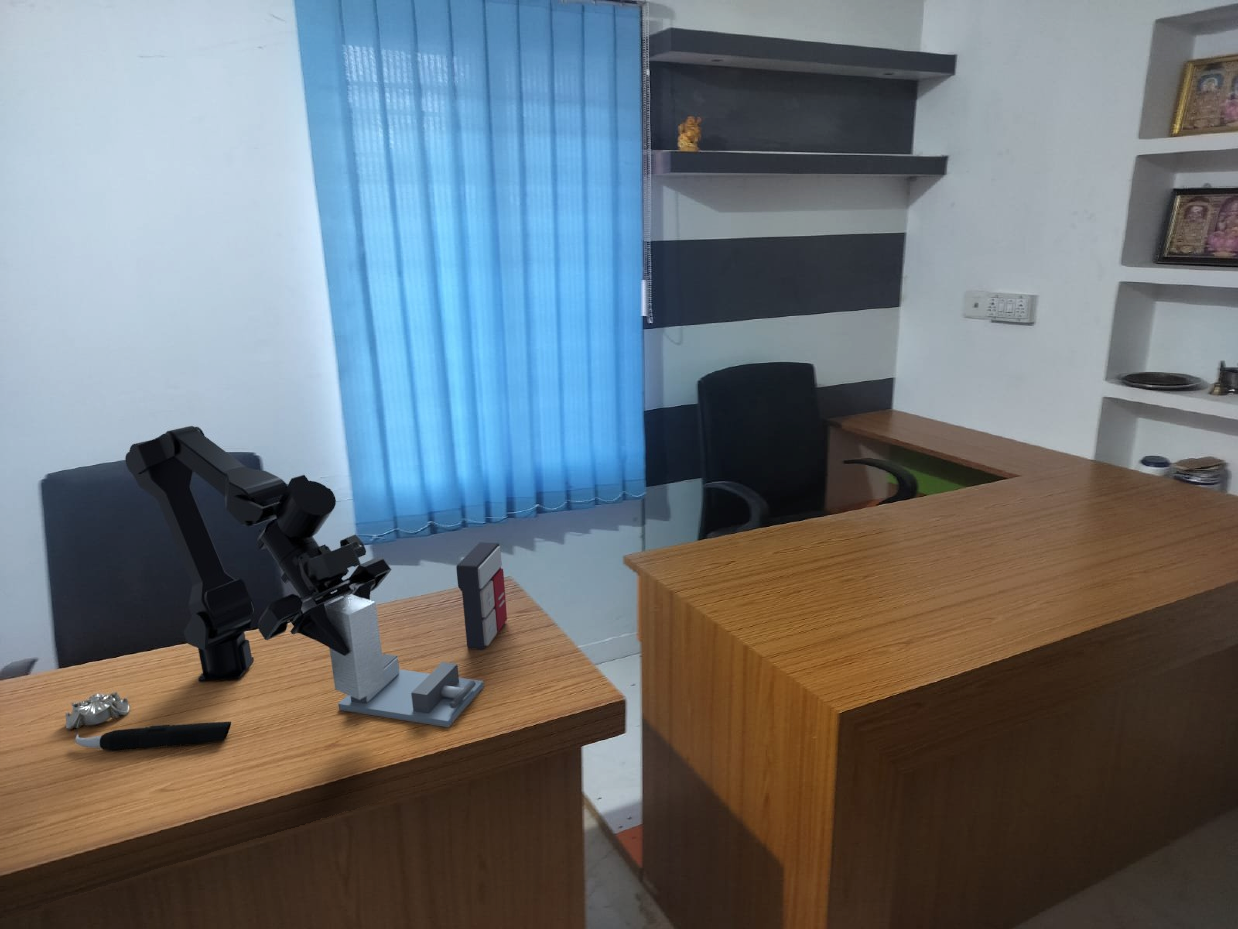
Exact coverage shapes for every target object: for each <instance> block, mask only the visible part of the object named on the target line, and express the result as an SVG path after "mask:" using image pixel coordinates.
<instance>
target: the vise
mask: <svg viewBox="0 0 1238 929" xmlns="http://www.w3.org/2000/svg"><path fill="white" fill-rule="evenodd" d="M382 659H383V668H384V676H385V685H384V686H382V687H380V688H379V689H377V690H375V691H374V692H372V693H370V694H369V695H367V696H365V697H364V698H362V699H360V700H359V699H357V698H354V697H352V696H349V695H346V696H345V697H344V698H343V699H342V700H340V701H339V702H338V703H337V704H338V705H337V706H338V710H339V711H344V712H351V713H357V714H364V715H370V716H376V717H381V718H389V719H395V720H401V721H407V722H413V723H418V724H419V723H420V724H426V725H433V726H439V727H445V728H449V727H451V725H452V724H453V723H454V721H455V720H457V718H458V717H459V716H460V714H462V713H463V711H464V710H465V709H466V708H467V707H468V706H469V705H470V703H471V702H472V701H473V700H474V699H475V698H476V696H477V695H478V694H479V693H480V692H481V690H483V688H484V687H485V686H484V680H477V679H472V678H465V677H460V676H459V669H458V668H459V667H458V663H453V662H446V661H442V662H441V663H440V664H439V665H438V666H436V668H435V669H434V670H433V671H431V673H427V672H421V671H413V670H407V669H401V668H400V666H399V657H398V655H395V654H386V653H382Z"/></svg>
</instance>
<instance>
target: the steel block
mask: <svg viewBox="0 0 1238 929" xmlns="http://www.w3.org/2000/svg"><path fill="white" fill-rule="evenodd" d="M325 610H326V614H327V617H328V619H329V620H330V622H331V623H332V625H333V626H334V628H335V629H336V630H337V632H338V633H339V635H340V636H341V637H342V639H343V640H344V642H345V644H346V646H347V647H348V649H349V653H348V655H346V656H343V655H342V654H340V653H338V652H336V651H334V650H333V649H331V648H329V653H330V662H331V669H332V675H333V683H334V684H333V685H334V690H335V691H337V692H340V693H342V694H344V695H346V696H348V695H349V696H352V697H354V698H357V699H359V700H360V699H362V698H364V697H365V696H367V695H369V694H370V693H372V692H374V691H375V690H377V689H379V688H380V687H382V686H384V685H385V676H384V668H383V659H382V654H383V652H382V643H381V635H380V628H379V626H380V625H379V620H378V619H379V618H378V609H377V602H376V601H374V600H371V599H370V600H368V599H365V598H361V597H358V596H355V595H352V594H350V595H348V596H346V597H342V598H340V599H337V600H335V601H333V602H331V603H328V604H326V605H325Z"/></svg>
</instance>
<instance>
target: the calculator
mask: <svg viewBox="0 0 1238 929" xmlns="http://www.w3.org/2000/svg"><path fill="white" fill-rule="evenodd" d="M502 563H503V562H502V551H501V545H500V543H499V542H484V541H483V542H482V541H481V542H479V543H477V544H476V545H475V546H474V547H473V548H472V550H470V551H469V552H468V553H467V554H466V556H464V558H463V559H461V561H459V563H458V564H457V565H456V566H455V567H456V568H455V569H456V578H457V587H458V588H459V590H460V591H461V593H462V594H461V595H462V606H463V607H462V608H463V618H464V627H465V628H464V629H465V637H466V639H465V640H466V647H467V649H471V650H473V649H474V650H485V649H486V647H489V645H490V644H491V642H492V641H493V640H494V639H495V637H496V636H497V633H498V632H499V631H500V630H501V629H502V628H503V626H504V624H505V623H506V622H507V619H508V614H507V600H506V590H505V575H504V574H505V573H504V568H502V565H503V564H502Z"/></svg>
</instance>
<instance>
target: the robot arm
mask: <svg viewBox="0 0 1238 929" xmlns="http://www.w3.org/2000/svg"><path fill="white" fill-rule="evenodd" d="M124 459H125V464H126V467H127V469H128V471H129V472H130V473H131V475H133V478H134V479H135V481H136V483H137V485H138V487H139V488H141V489H142V490H143V491H145V492H146V493H147V494H149V495H151V496H152V497H153V498H155V499H156V501H157V503H158V506H159V507H160V509H161V511H162V512H161V513H162V514H163V517H164V519H165V521H166V524H167V526H168V529H169V531H170V533H171V536H172V538H173V541H174V543H175V545H176V548H177V550H178V552H179V555H180V557H181V561H182V562H183V565H184V567H185V570H186V572H187V574H188V577H189V579H190V581H191V584H192V585H191V586H192V587H191V591H190V597H189V601H188V608H189V611H190V615H191V617H190V619H189V621H188V623H187V624H186V627H184V629H183V634H184V638H185V640H186V642H187V645H189V646H192V647H194V648H197V650H198V656H199V661H200V664H201V670H202V673H201V674H200V675H199V676H198V678H197V679H198V682H217V681H220V682H221V681H233V680H234V681H235V680H239V679H242V677H243V675H244V674H245V673H246V672H247V670H248V669H249V667H250V666H251V665H252V663H253V662H254V660H255V657H253V656H252V651H251V645H250V641H249V639H246V634H245V632H246V631H251V630H252V629H253V628H254V617H255V604H254V601H253V599H252V597H251V596H250V595H249V592H248V590H247V587H246V583H245V581H244V580H243V579H242V578H237V579H235V578H234V577H233V576H231V575H229V574H228V573H227V572H226V570H225V568H224V567H223V564H222V561H221V559H220V557H219V555H218V552H217V549H216V547H215V544H214V542H213V540H212V537H211V534H210V533H209V530H208V527H207V525H206V523H205V520H204V518H203V517H204V516H203V515H202V513H201V510H200V508H199V506H198V503H197V501H196V499H195V498H196V497H195V496H194V493H193V491H192V489H191V486H192V485H191V484H192V480H193V475H194V473H195V474H196V475H197V476H199V477H200V478H201V479H202V480H204V481H205V482H207V483H208V484H209V485H210V486H211V487H213V488H214V489H215V490H217V491H218V492H219V493H220V494H221V496H223V497H224V503H225V509H226V511H228V512H229V514H230V515H232V517H233V518H234V519H235V520H236V521H237V522H238V523H239V524H241V525H242V526H244V527H247V528H248V527H249V528H250V527H252V526H256V525H258V524H261V523H265V522H267V521H269V522H268V523H267V525H266V526H265V527H264V528H261V529H259V530H258V538H257V542H256V547H257V549H258V550H263V549H267V550H268V551H269V553H270V555H272V556H271V557H273V559H274V560H275V562H276V564H278V566H279V567H280V569H281V570H282V572H283V574H282V575H281V577H280V579H281V581H282V582H283V583H284V584H287V583H289V582H290V583H291V585H292V587H293V589H295V591H296V592H297V594H294V593H291V594H288V595H286V596H284V597H281V598H279V599H277V600H275V601H273V602H270V603H268V606H267V607H266V609H264V611H263V613H262V615H261V616H260V617H259V619H258V621H257V629H258V631H259V633H260V634H261V636H262V637H263V639H264V640H265V641H270V640H271V639H273V638H275V637H277V636H279V635H281V634H284V633H285V632H286V631H287V628H288V624H289V623H288V622H290V623H291V625H292V626H293V627H292V629H291V630H290V633H291V635H296V634H300V635H302V636H304V637H307V638H309V639H312V640H314V641H316V642H318V643H320V644H322V645H323V646H325V647H328V648H329V649H330V648H331V649H333V650H334V651H336V652H338V653H340V654H342V655H343V656H346V655H348V653H349V649H348V647H347V646H346V644H345V642H344V640H343V639H342V637H341V636H340V635H339V633H338V632H337V630H336V629H335V628H334V626H333V625H332V623H331V622H330V620H329V619H328V617H327V614H326V610H325V606H326V605H325V604H327V603H328V604H329V603H330V602H332V601H334V600H336V599H338V598H341V597H342V598H344V597H346V596H348V595H350V594H352V595H355V596H358V597H361V598H365V599H368V600H371V593H372V592H373V591H374V590H376V589H377V588H378V587H380V585H381V583H382V582H384V580H385V579H386V578H387V576H388V575H389V573H390V572H391V571H392V568H391V567H390V565H389V564H388V562H387V561H386V560H385V559H384V558H383V557H375V558H373V559H370V560H368V561H365V562H362V563H361V561H360V559H359V558H362V557H364V556H365V555H366V553H367V550H366V548H365V545H364V542H363V541H362V540H361V539H360V538H359V537H358V535H357V534H353V535H351V536H348V537H345V538H343V539H341V540H340V541H339V543H340V545H339V546H340V547H339V548H338V547H337V548H336V549H333V550H331V549H330V547H329V546H328V545H326V544H322V545H319V544H318V542H317V541H316V539H315V538H314V536H316V535H317V534H318V533H319V531H320V529H321V528H322V527H323V525H324V524H325V522H326V521H327V519H328V518H329V517H330V515H331V514H332V512H333V511H334V509H335V507H336V505H337V500H336V495H335V493H334V491H332V489H331V488H329V487H327V486H326V485H324V484H322V483H320V482H318V481H314V480H309V479H308V478H307V476H306V475H305V474H302V475H298V476H294V477H292V478H291V479H290V481H288V483H287V482H286V481H284V479H282V478H280V477H279V476H277V475H275V474H273V473H271V472H269V471H267V470H261V469H254V468H250V467H247V466H246V465H244V464H243V463H241V462H240V461H239V460H238V459H236V457H233V456H232V455H231V454H230V453H228V452H227V451H225V450H224V449H223V448H222V447H221V446H219V445H218V444H216V443H215V442H214V441H212V440H211V439H210V438H208V437H207V436H206V435H205V434H204V432H203V430H202V429H201V427H199V426H193V425H190V426H184V427H181V428H174V429H171V430H167V431H166V432H165V433H163V434H161V435H159V436H158V437H155V438H154V439H150V440H145V441H141V442H136V443H133V444H131V445H130V447H129V450H128V452H126V454H125V458H124ZM352 567H354V568H355V570H354V571H353V572H352V573H351V574H350V576H349V577H347V578H346V579H343V577H345V576H347V575H348V574H349V569H350V568H352Z"/></svg>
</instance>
